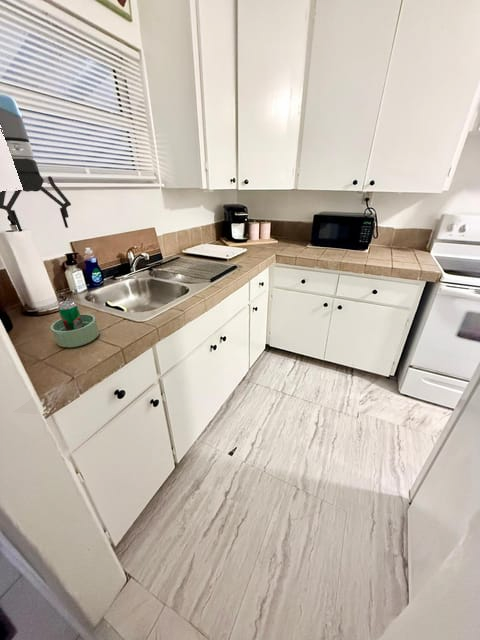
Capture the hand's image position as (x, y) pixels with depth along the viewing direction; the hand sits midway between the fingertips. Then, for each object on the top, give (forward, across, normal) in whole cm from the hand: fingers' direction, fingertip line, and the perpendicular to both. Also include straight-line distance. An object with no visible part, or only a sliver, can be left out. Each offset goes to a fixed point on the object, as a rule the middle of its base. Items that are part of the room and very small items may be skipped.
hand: (44, 229), depth 92 cm
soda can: (+30, -1, -29) cm, 42 cm away
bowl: (+31, -1, -29) cm, 42 cm away
